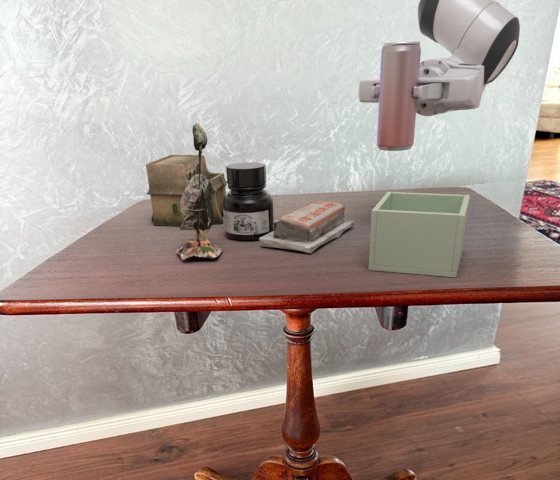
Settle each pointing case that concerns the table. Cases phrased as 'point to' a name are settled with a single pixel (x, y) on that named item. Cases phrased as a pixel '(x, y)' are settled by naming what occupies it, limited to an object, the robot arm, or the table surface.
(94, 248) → the table surface
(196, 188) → the plant with pod
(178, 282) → the table surface
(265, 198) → the ink bottle
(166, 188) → the miniature house
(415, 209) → the waste bin
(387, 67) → the beverage can
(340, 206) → the packaged product
